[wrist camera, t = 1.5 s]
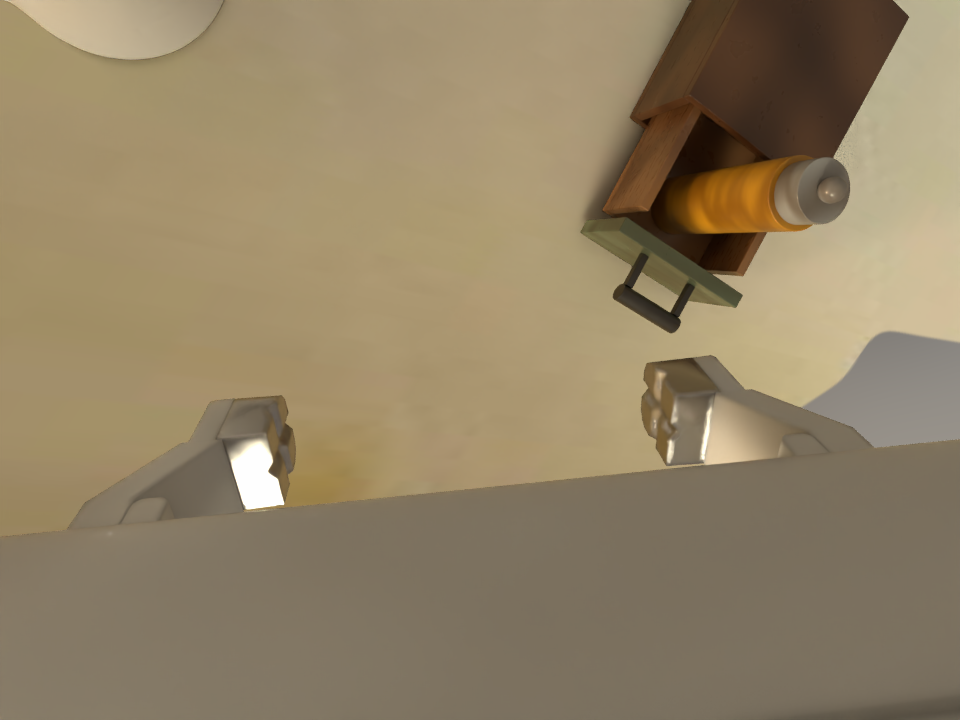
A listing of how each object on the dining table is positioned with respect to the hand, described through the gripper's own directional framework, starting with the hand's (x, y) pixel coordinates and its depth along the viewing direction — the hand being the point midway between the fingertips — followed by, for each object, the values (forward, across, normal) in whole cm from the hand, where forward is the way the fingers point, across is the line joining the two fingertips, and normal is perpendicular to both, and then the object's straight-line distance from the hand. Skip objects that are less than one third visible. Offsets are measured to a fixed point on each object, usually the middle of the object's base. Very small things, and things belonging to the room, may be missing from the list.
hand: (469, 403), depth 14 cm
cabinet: (+46, -27, -1) cm, 53 cm away
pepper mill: (+39, -21, +8) cm, 45 cm away
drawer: (+40, -20, +8) cm, 46 cm away
